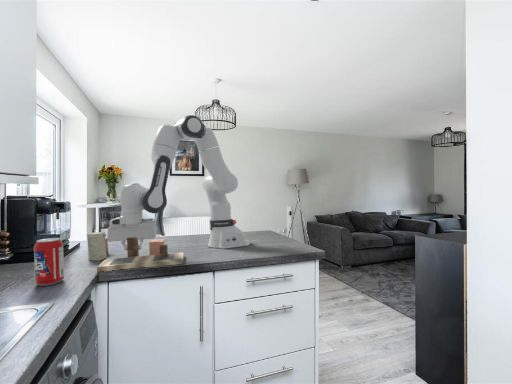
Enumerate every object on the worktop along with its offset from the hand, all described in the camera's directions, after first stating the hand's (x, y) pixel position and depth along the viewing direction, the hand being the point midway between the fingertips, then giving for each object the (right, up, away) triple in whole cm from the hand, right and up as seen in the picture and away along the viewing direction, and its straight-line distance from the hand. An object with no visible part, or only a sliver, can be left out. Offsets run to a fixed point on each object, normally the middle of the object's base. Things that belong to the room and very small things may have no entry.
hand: (133, 249), depth 121 cm
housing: (+9, -4, +5) cm, 11 cm away
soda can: (-15, -5, -30) cm, 34 cm away
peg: (0, -4, 0) cm, 4 cm away
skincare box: (-17, -5, +1) cm, 17 cm away
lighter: (-21, -5, +10) cm, 24 cm away
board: (+9, -4, -9) cm, 13 cm away
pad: (+1, -2, -11) cm, 11 cm away
